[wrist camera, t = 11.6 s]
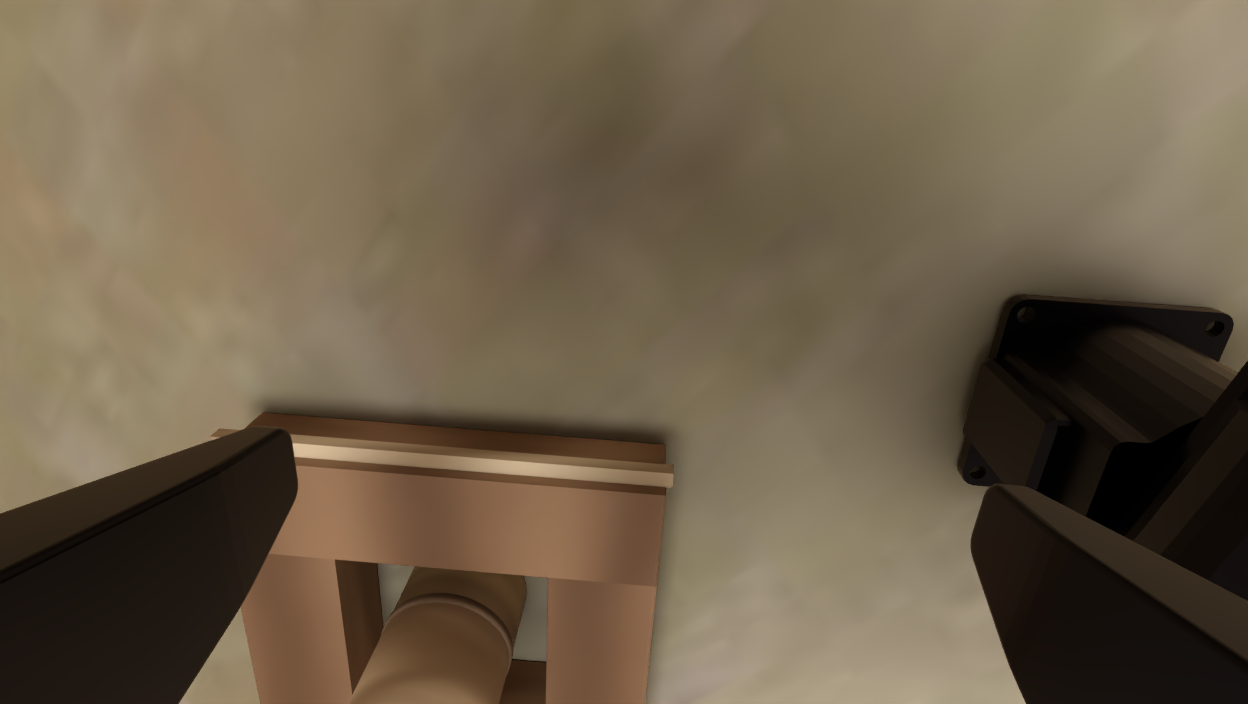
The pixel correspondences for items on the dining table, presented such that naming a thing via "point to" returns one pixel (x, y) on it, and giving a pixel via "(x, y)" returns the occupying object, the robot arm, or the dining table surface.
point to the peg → (446, 640)
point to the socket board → (460, 550)
